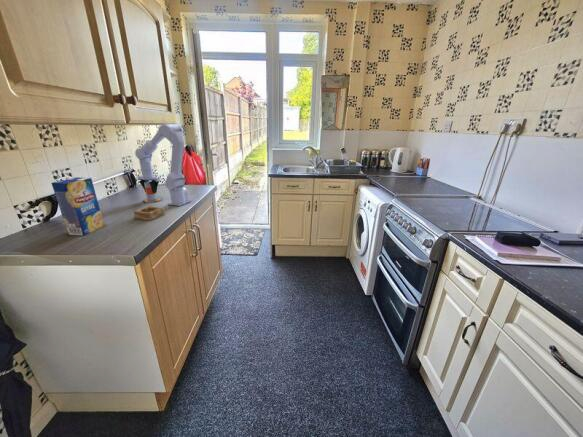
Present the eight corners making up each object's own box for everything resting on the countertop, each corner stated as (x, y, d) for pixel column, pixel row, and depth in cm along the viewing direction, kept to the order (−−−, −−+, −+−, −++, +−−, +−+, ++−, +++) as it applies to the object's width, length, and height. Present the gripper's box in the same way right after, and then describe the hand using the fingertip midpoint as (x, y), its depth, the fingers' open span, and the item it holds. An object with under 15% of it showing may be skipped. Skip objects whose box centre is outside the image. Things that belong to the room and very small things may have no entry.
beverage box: (104, 225, 112) (91, 177, 104) (83, 235, 102) (67, 183, 94) (90, 224, 113) (76, 177, 105) (68, 234, 102) (51, 182, 95)
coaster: (152, 197, 155) (152, 197, 155) (164, 199, 153) (164, 198, 153) (140, 201, 147) (140, 200, 147) (152, 203, 145) (152, 202, 145)
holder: (149, 212, 130) (148, 206, 128) (164, 214, 127) (162, 208, 126) (134, 218, 121) (133, 211, 120) (149, 220, 119) (148, 213, 118)
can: (152, 198, 153) (149, 180, 149) (159, 198, 151) (156, 181, 147) (145, 200, 148) (141, 182, 144) (152, 201, 147) (148, 183, 143)
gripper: (131, 169, 142) (135, 192, 146) (151, 171, 138) (155, 195, 143) (141, 168, 148) (145, 190, 153) (160, 169, 144) (164, 192, 149)
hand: (151, 192), depth 148 cm, fingers closed on can, 5 cm apart
